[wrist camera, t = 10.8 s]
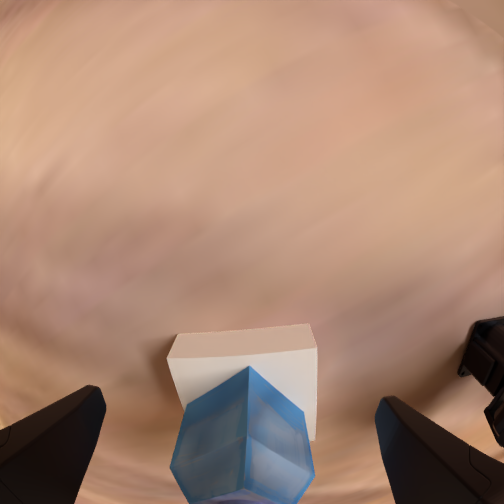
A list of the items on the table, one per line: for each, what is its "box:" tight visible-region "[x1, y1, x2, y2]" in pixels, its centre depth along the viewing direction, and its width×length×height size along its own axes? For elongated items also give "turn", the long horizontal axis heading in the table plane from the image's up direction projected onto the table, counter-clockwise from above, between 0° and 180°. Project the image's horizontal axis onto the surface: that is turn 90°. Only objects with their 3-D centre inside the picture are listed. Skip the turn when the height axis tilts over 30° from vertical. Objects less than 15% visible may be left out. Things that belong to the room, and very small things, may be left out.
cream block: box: [167, 323, 317, 441], centre depth 21 cm, size 10×10×4 cm
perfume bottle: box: [170, 365, 315, 504], centre depth 14 cm, size 6×6×12 cm
